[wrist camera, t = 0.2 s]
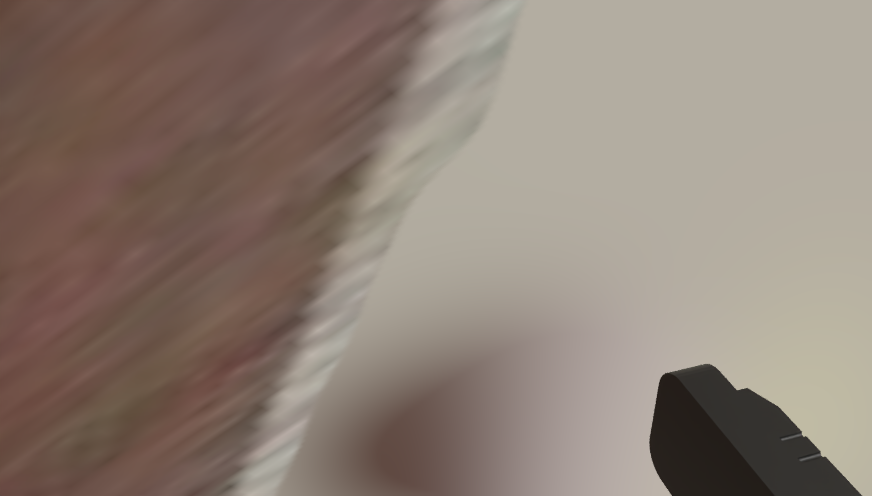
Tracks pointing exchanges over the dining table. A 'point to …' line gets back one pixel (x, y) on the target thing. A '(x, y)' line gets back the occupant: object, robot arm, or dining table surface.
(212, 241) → the dining table surface
